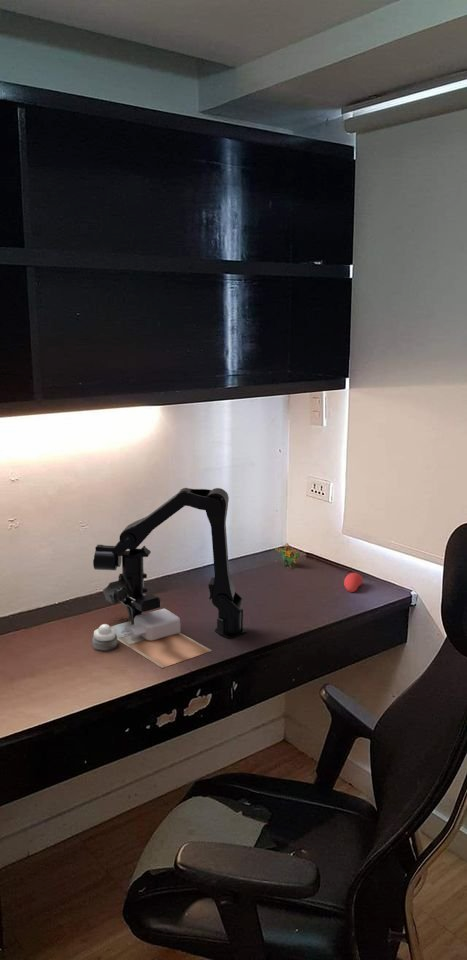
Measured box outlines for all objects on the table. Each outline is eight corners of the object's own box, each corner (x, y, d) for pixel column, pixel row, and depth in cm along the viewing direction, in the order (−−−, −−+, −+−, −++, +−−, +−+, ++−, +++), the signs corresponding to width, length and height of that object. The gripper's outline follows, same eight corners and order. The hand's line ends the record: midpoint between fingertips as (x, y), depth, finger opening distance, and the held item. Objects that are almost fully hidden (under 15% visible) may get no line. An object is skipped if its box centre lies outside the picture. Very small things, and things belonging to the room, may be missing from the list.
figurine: (296, 571, 254) (297, 548, 252) (271, 562, 262) (271, 540, 260) (302, 569, 256) (303, 546, 254) (277, 560, 264) (278, 538, 262)
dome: (108, 630, 199) (108, 618, 199) (119, 637, 195) (119, 625, 195) (90, 636, 196) (89, 623, 195) (100, 643, 192) (100, 630, 191)
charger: (114, 635, 201) (163, 623, 210) (131, 648, 194) (180, 634, 203) (114, 619, 200) (162, 607, 209) (131, 631, 193) (180, 618, 202)
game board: (149, 615, 215) (149, 608, 215) (211, 651, 194) (211, 643, 193) (77, 636, 201) (77, 629, 200) (136, 677, 179) (136, 669, 179)
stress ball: (336, 593, 239) (340, 580, 234) (350, 576, 244) (354, 563, 240) (351, 601, 237) (355, 588, 233) (364, 584, 243) (368, 571, 238)
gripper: (89, 567, 206) (91, 620, 209) (125, 586, 192) (127, 643, 195) (124, 559, 213) (126, 611, 216) (161, 577, 199) (162, 632, 202)
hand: (134, 624), depth 207 cm, fingers closed
